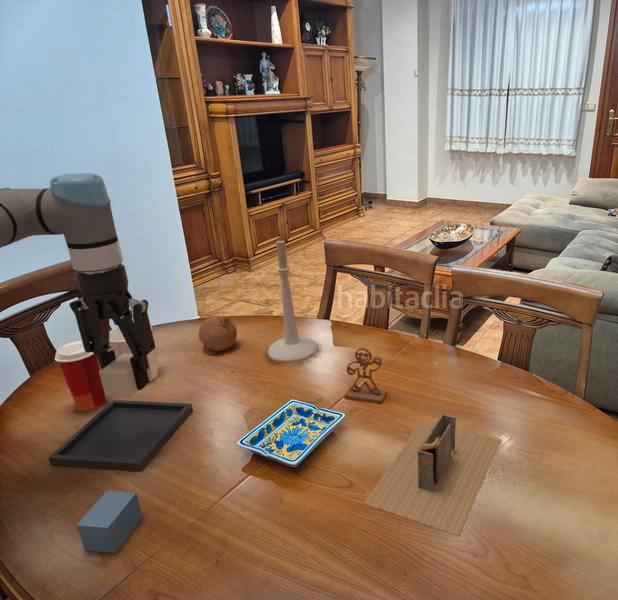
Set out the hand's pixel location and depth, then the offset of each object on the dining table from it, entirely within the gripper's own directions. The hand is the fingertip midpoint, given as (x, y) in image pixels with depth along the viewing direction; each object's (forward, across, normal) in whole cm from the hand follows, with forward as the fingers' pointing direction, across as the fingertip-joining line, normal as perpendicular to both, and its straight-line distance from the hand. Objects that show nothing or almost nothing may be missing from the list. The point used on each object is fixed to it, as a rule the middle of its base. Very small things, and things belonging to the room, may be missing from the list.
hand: (129, 384), depth 96 cm
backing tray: (+13, +4, -1) cm, 13 cm away
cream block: (0, 0, 0) cm, 0 cm away
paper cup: (+13, +19, -11) cm, 25 cm away
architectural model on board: (+12, -58, +2) cm, 59 cm away
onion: (+13, +2, -39) cm, 41 cm away
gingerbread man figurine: (+13, -41, -19) cm, 47 cm away
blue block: (+13, -9, +22) cm, 27 cm away
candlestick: (+13, -17, -39) cm, 45 cm away
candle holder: (+13, +15, -23) cm, 30 cm away
